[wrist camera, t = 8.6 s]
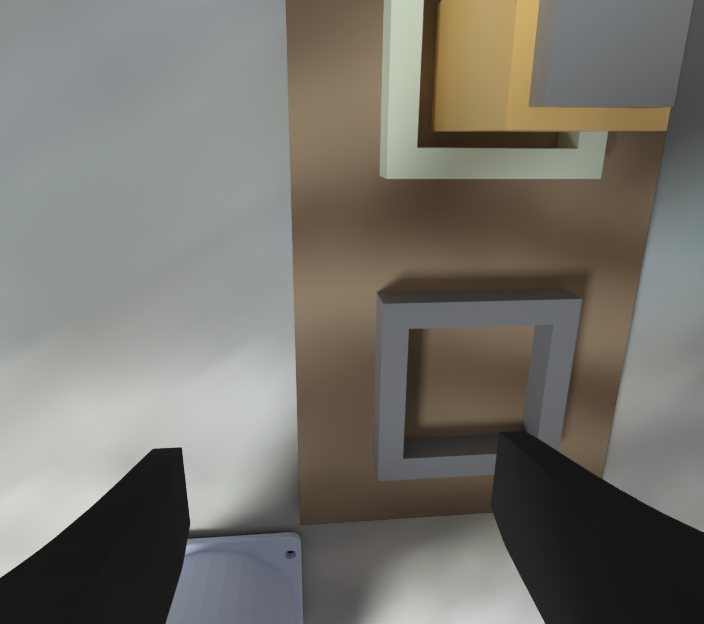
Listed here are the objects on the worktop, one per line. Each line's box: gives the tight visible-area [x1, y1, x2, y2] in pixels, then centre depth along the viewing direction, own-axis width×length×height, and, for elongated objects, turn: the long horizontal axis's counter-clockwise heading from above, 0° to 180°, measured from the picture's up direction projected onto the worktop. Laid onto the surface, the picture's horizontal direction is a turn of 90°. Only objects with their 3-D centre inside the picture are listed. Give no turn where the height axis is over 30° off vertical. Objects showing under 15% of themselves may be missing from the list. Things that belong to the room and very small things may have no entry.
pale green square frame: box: [380, 0, 608, 179], centre depth 18 cm, size 8×8×2 cm
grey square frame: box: [373, 288, 582, 481], centre depth 21 cm, size 8×8×2 cm
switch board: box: [286, 0, 671, 525], centre depth 21 cm, size 26×14×1 cm, turn 0°
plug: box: [431, 0, 694, 132], centre depth 15 cm, size 4×4×8 cm
